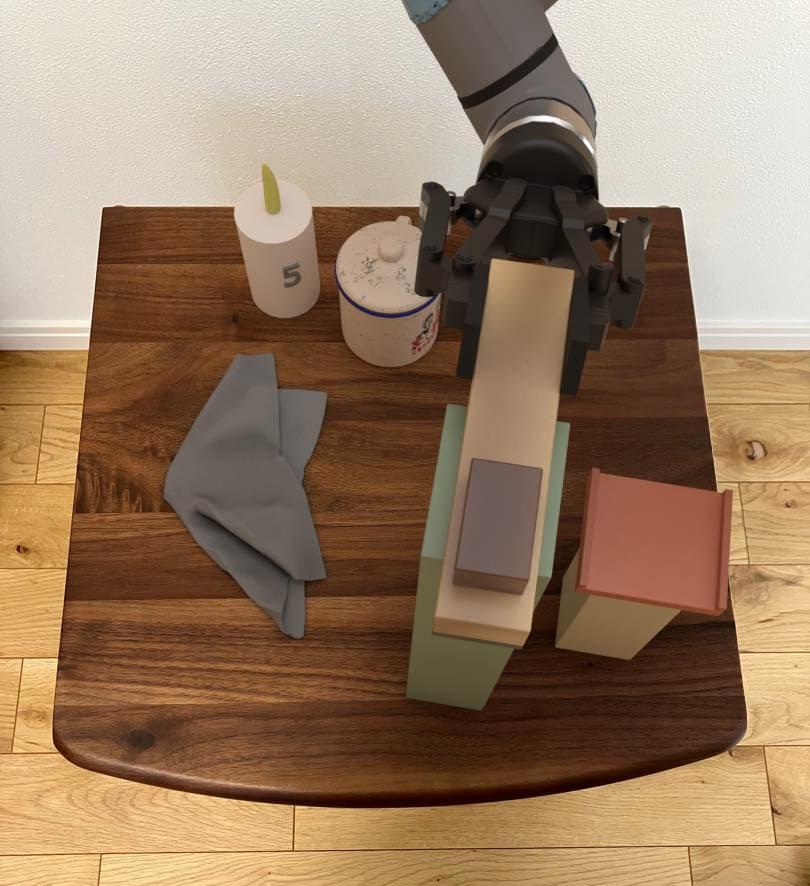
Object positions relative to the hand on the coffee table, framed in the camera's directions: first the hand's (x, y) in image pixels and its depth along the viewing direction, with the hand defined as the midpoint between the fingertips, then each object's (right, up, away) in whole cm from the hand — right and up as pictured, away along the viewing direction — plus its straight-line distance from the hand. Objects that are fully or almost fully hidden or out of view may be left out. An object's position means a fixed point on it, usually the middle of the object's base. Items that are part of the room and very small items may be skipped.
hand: (521, 359), depth 42 cm
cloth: (-18, -4, +38) cm, 42 cm away
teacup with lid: (-6, +12, +44) cm, 47 cm away
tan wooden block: (-1, -4, +3) cm, 5 cm away
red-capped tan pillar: (+10, -14, +35) cm, 39 cm away
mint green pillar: (-1, -17, +33) cm, 37 cm away
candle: (-16, +15, +45) cm, 50 cm away
